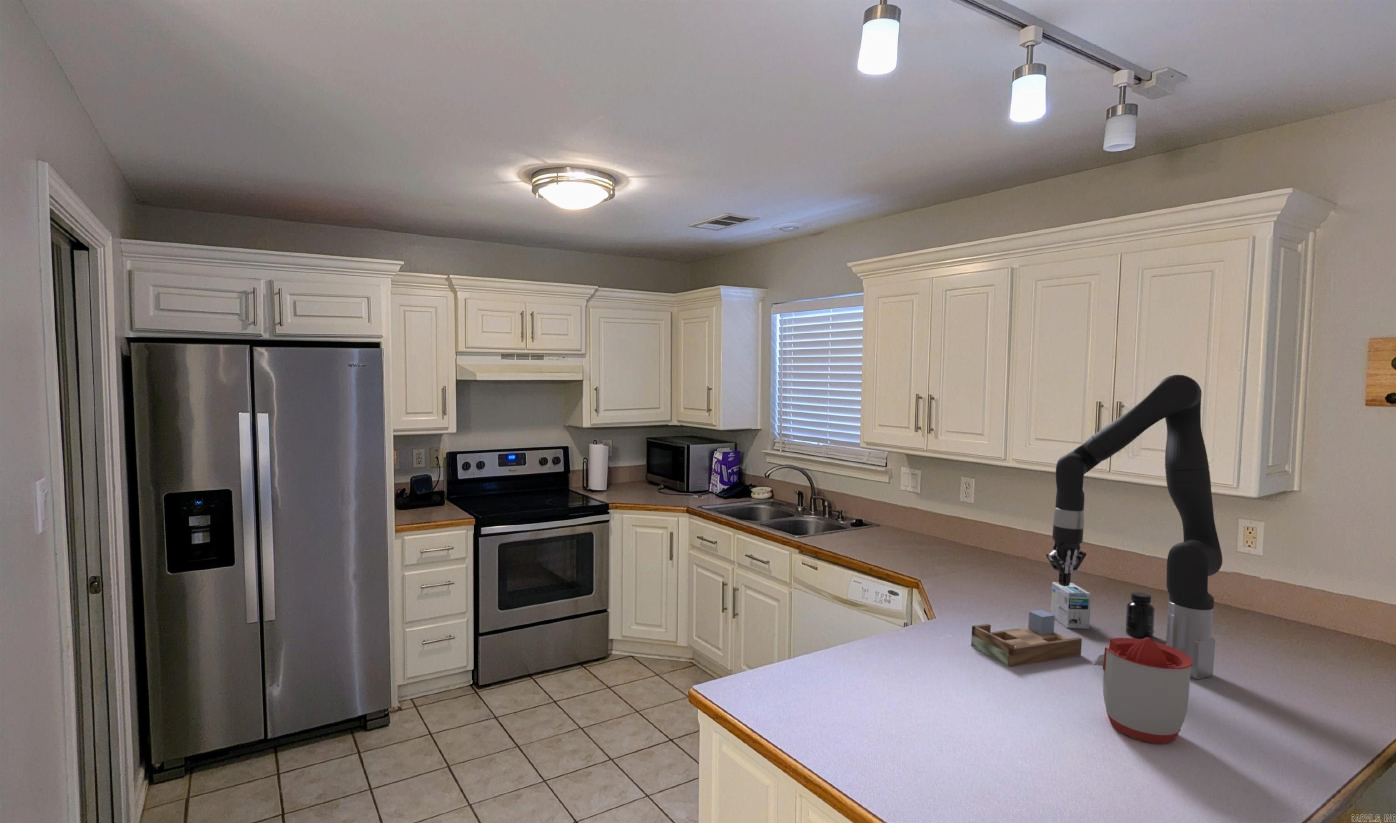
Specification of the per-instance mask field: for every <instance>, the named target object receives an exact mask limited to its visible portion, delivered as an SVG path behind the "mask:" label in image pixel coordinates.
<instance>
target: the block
mask: <svg viewBox="0 0 1396 823" xmlns="http://www.w3.org/2000/svg"><path fill="white" fill-rule="evenodd" d="M1028 612H1029V613H1028V626H1027V627H1028V629H1029V630H1032V631H1034V632H1036V633H1038V634H1040V635H1044V634H1051V633H1054V632H1055V620H1056V619H1055V615H1053V614H1051V612H1049V611H1048V612H1047V611H1045V610H1043V609H1038V610H1030V611H1028Z"/></svg>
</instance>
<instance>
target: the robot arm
mask: <svg viewBox="0 0 1396 823" xmlns="http://www.w3.org/2000/svg"><path fill="white" fill-rule="evenodd" d="M1201 405H1202V388H1201V386H1200V384H1199V383H1198V382H1197V381H1196V380H1194V378H1192V377H1190V376H1188V375H1185V374H1173V375H1168V376H1167V377H1165V378H1163V379H1162V380H1161V381H1160V382H1159V383H1158V384H1157V385H1156V386H1155V387H1154V389H1152V390H1151V391H1150V392H1149V393H1148V394H1147V395H1146V396H1145V397H1144V398H1143V399H1142V400H1141V401H1140V402H1139V403H1137V404H1136V405H1135V406H1134V407H1132V408H1131V409H1130V410H1128V411H1127V412H1126V413H1124V414H1122V415H1121V416H1119V417H1117V418H1116V419H1115V420H1113V421H1112V422H1111V423H1109V424H1107V425H1106V426H1104V427H1103V428H1101V429H1100V430H1099V431H1097V432H1096V433H1094V434H1092V436H1090V437H1089V438H1088V439H1087V440H1085V442H1084V443H1082V444H1081V445H1079V446H1078V447H1076V448H1074V449H1073V450H1071V451H1070V452H1068V453H1067V454H1065V455H1062V456H1061V457H1060V458H1059V459H1058V460H1057V461H1056V466H1055V484H1056V495H1055V508H1054V513H1053V522H1052V523H1053V524H1052V537H1051V539H1052V540H1053V541H1054V544H1053V547H1052V549H1053V550H1052V551H1051V552H1046V555H1045V557H1046V558H1047V560H1048V562H1049V564H1050V565H1051V567H1052V569H1053V570H1055V571H1058V582H1059V584H1060V585H1062V586H1069V585H1070V583H1071V577H1072V576H1071V575H1072V573H1073V572H1074V571H1078V569H1079V568H1080V567H1081V564H1082V563H1083V561H1084V560H1085V557H1086V556H1087V553H1086V552H1085V551H1083V550H1082V549H1081V544H1082V543H1084V542H1083V540H1084V539H1083V538H1084V524H1085V512H1084V511H1085V510H1084V509H1085V491H1084V477H1085V474H1087V473H1088V472H1090V471H1091V470H1092V469H1093V468H1095V467H1096V466H1097V465H1099V464H1100V463H1102V462H1103V461H1105V460H1108V459H1109V458H1111V457H1112V456H1114V455H1115V454H1117V453H1118V452H1120V451H1121V450H1123V449H1124V448H1125V447H1127V446H1128V445H1130V443H1132V442H1133V441H1134V440H1136V439H1137V438H1138V437H1139V436H1140V435H1141V434H1142V433H1144V432H1145V431H1146V430H1148V429H1149V428H1151V427H1152V426H1153V425H1155V424H1156V423H1158V422H1160V421H1161V420H1163V419H1165V423H1166V431H1167V432H1166V442H1165V443H1166V444H1165V451H1164V452H1165V454H1164V455H1165V456H1164V469H1165V472H1164V473H1165V479H1166V480H1165V481H1166V487H1167V490H1168V494H1169V496H1170V498H1171V499H1172V503H1173V504H1174V506H1175V508H1176V509H1177V511H1178V513H1179V516H1180V518H1181V525H1182V533H1183V541H1182V542H1178V543H1176V544H1174V545H1173V546H1172V547H1170V549H1169V551H1168V554H1167V558H1166V559H1167V560H1166V583H1165V584H1166V589H1167V592H1168V610H1167V611H1168V612H1167V623H1166V636H1165V638H1166V639H1165V645H1167V646H1170V647H1172V648H1175V649H1177V650H1179V651H1181V652H1183V653H1185V654H1187V655H1188V656H1189V657H1190V658H1191V659H1192V661H1193V664H1192V666H1191V670H1190V678H1193V679H1194V680H1195V679H1196V680H1198V679H1199V680H1200V679H1205V678H1209V677H1213V676H1214V666H1215V664H1214V662H1215V650H1216V639H1215V637H1212V634H1213V633H1212V632H1213V621H1214V607H1215V598H1214V596H1213V595H1212V594H1210V593H1209V590H1208V586H1209V585H1208V584H1209V581H1208V580H1209V577H1211V576H1214V575H1215V574H1217V573H1218V572H1219V571H1220V569H1221V568H1222V565H1223V554H1222V549H1221V545H1220V541H1219V536H1218V533H1217V527H1216V524H1215V523H1216V522H1215V517H1214V516H1215V514H1214V505H1213V504H1214V503H1213V495H1212V481H1211V472H1210V464H1209V460H1208V458H1209V457H1208V453H1207V448H1206V444H1205V440H1204V437H1203V432H1202V423H1201V422H1202V421H1201V420H1202V417H1201V416H1202V415H1201V414H1202V412H1201V411H1202V410H1201V409H1202V406H1201Z"/></svg>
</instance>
